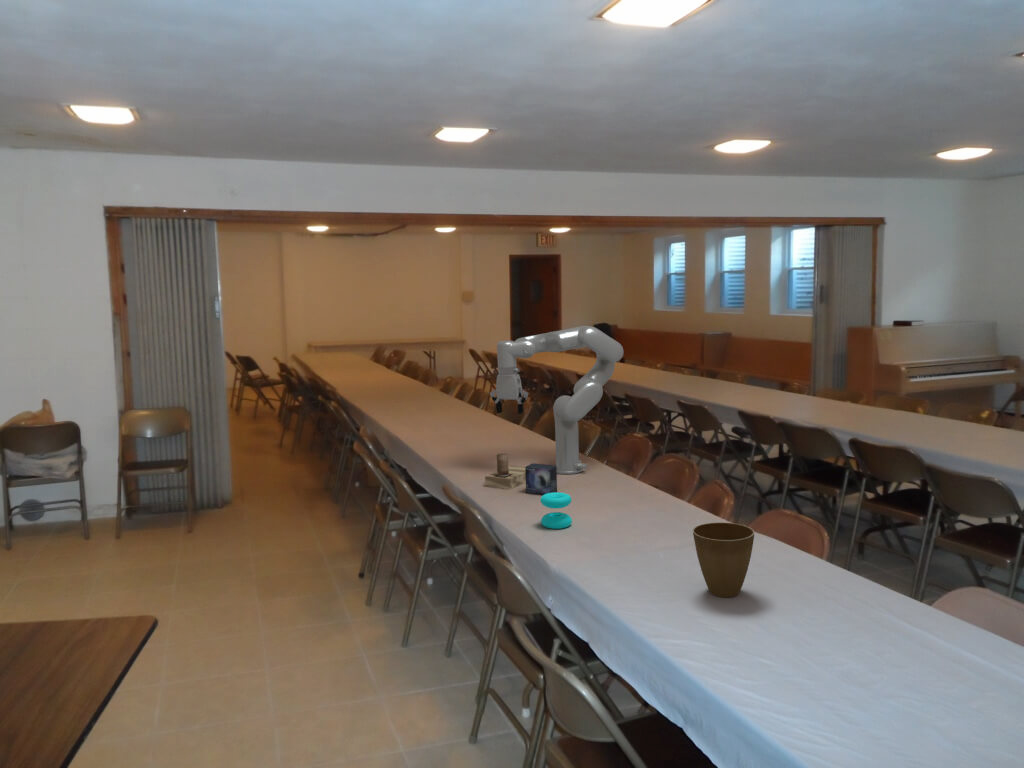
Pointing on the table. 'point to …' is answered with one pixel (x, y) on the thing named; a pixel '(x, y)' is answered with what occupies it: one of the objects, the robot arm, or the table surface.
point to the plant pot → (724, 555)
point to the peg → (502, 465)
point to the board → (507, 478)
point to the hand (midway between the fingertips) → (510, 413)
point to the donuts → (556, 518)
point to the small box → (541, 479)
